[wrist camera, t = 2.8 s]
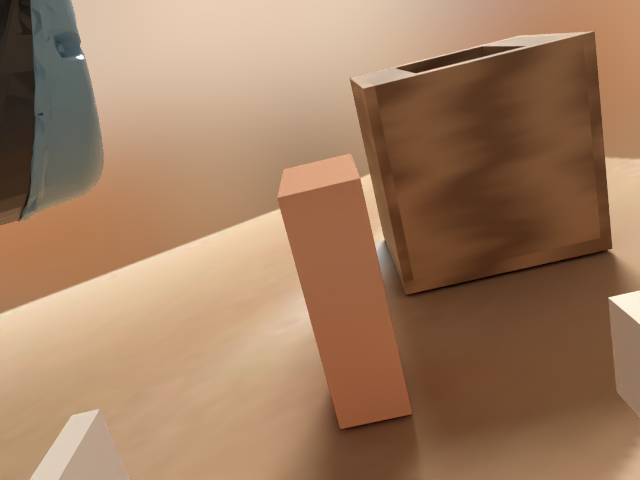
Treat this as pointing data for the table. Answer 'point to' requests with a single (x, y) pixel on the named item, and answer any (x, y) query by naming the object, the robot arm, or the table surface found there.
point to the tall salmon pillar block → (344, 289)
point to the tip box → (487, 158)
